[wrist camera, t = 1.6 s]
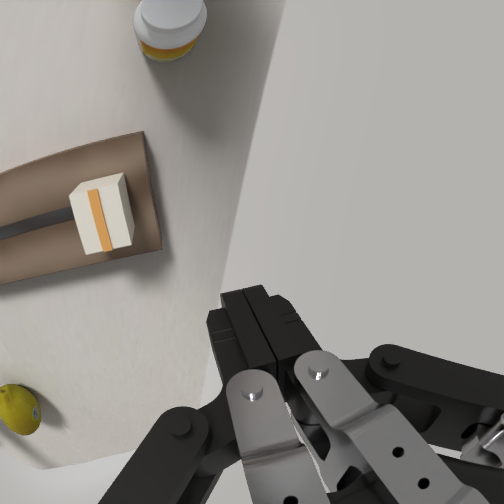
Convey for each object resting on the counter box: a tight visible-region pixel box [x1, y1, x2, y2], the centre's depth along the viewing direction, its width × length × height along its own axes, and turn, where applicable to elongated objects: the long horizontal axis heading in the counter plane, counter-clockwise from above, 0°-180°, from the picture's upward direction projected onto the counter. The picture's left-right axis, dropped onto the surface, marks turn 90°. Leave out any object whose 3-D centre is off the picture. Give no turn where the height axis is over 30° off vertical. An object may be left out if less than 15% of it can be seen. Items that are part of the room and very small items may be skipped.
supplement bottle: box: [133, 0, 207, 62], centre depth 17 cm, size 5×5×10 cm
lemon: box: [0, 384, 41, 435], centre depth 30 cm, size 11×8×8 cm
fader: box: [69, 172, 135, 255], centre depth 22 cm, size 5×4×4 cm
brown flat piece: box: [0, 131, 162, 285], centre depth 23 cm, size 11×24×3 cm, turn 94°
